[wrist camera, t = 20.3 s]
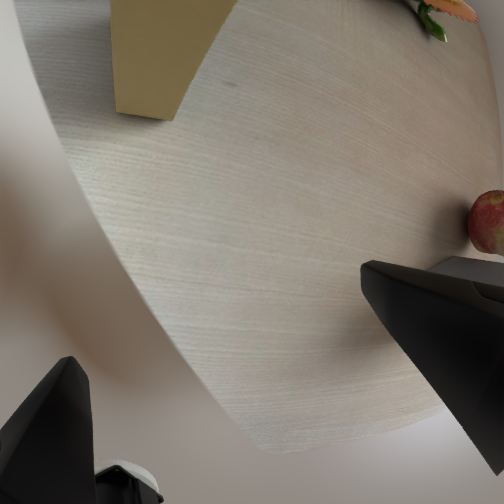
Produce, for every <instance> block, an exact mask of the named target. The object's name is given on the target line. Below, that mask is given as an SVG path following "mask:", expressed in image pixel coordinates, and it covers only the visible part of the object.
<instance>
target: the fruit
mask: <svg viewBox="0 0 504 504" xmlns="http://www.w3.org/2000/svg"><path fill="white" fill-rule="evenodd" d="M467 226H468V233H469V237H470V240H471V242H472V243H473V245H474V247H475V248H476V249H477V250H478V251H480V252H483V253H488V254H498V255H501V256H504V191H502V190H493V191H488V192H486V193H484V194H482V195H481V196H479V197H478V198H477V200H476V201H475V203H474V204H473V206H472V208H471V210H470V213H469V216H468V222H467Z"/></svg>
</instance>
